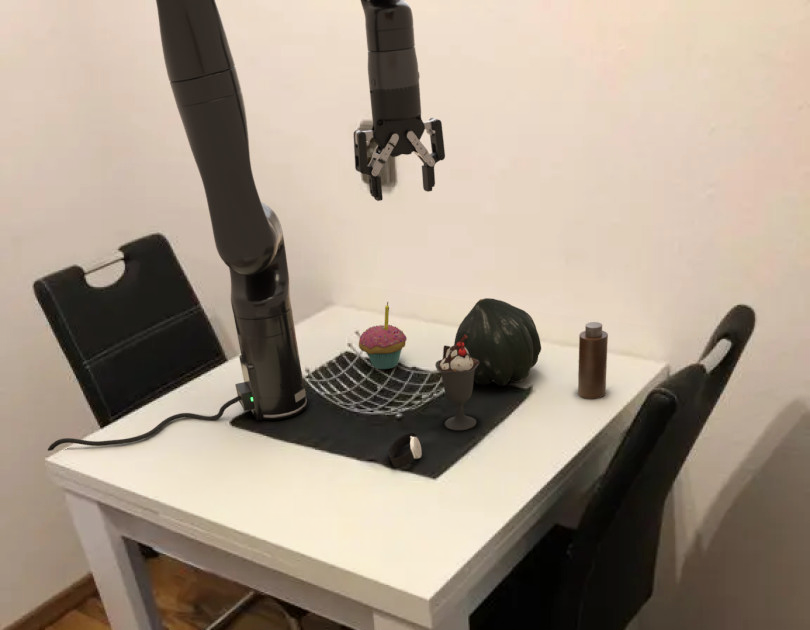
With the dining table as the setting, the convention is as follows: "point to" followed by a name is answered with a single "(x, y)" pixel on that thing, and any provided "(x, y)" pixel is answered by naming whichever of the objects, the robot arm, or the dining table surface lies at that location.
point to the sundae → (458, 382)
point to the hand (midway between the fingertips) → (403, 195)
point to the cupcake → (383, 344)
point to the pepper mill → (592, 361)
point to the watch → (412, 454)
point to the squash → (499, 341)
